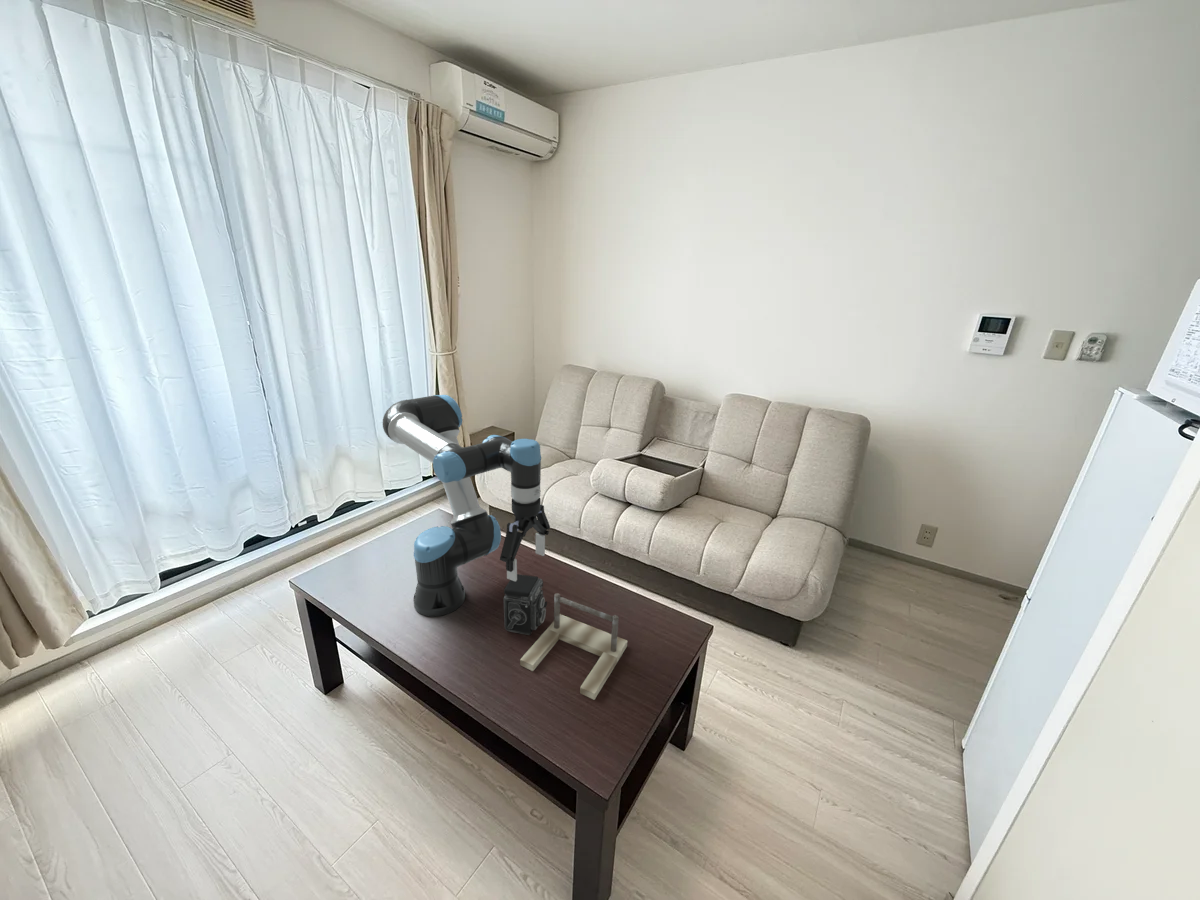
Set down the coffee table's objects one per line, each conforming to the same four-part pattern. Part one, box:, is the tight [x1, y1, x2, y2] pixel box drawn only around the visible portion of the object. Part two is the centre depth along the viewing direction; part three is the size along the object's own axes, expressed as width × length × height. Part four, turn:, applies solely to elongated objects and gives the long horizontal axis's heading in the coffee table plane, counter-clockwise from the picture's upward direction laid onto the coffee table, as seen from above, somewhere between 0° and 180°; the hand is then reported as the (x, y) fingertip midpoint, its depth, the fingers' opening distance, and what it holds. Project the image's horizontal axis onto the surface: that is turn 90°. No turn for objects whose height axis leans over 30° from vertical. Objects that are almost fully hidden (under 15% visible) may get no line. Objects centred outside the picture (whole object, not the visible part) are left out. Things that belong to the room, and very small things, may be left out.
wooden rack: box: [519, 592, 628, 701], centre depth 123 cm, size 22×20×13 cm
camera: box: [503, 573, 548, 636], centre depth 132 cm, size 10×10×15 cm
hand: (526, 566), depth 128 cm, fingers open, 13 cm apart
